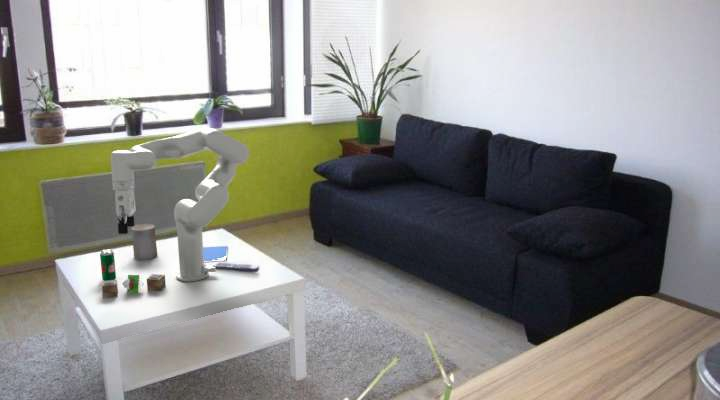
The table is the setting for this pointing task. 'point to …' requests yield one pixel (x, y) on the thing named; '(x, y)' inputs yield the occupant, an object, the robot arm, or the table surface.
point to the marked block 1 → (109, 288)
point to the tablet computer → (214, 252)
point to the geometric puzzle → (132, 284)
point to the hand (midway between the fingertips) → (126, 229)
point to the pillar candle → (144, 241)
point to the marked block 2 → (156, 283)
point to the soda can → (107, 265)
